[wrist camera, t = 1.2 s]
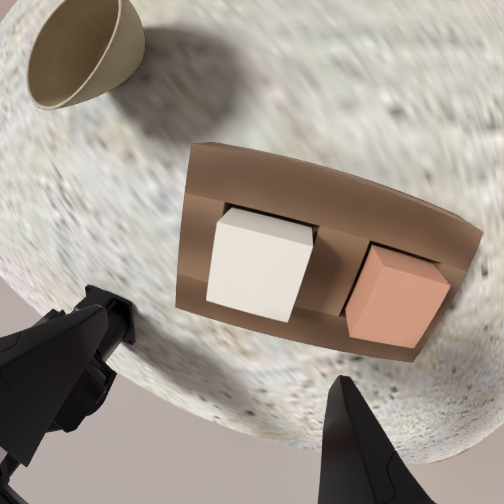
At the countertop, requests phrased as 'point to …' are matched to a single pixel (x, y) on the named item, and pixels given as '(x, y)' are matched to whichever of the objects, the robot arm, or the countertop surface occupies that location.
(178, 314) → the countertop surface
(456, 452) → the countertop surface
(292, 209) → the key console
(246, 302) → the cream key
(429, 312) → the terracotta key
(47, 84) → the flower pot
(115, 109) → the countertop surface
